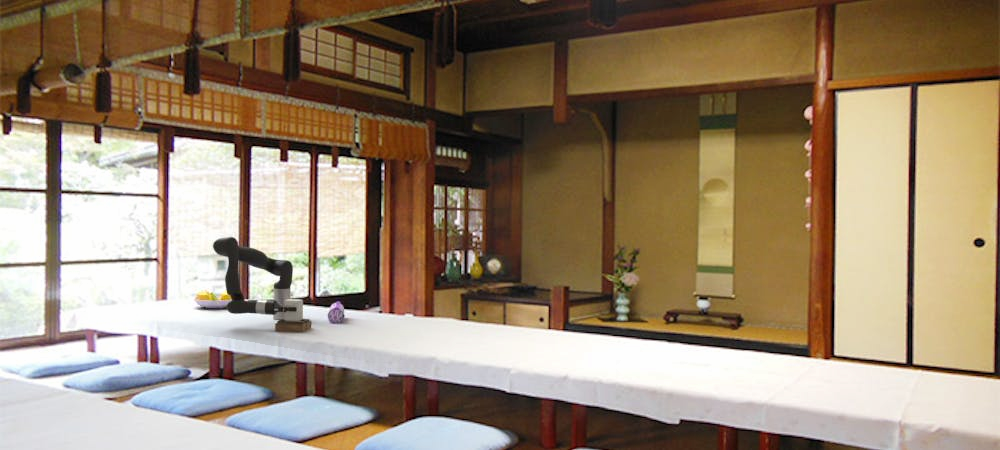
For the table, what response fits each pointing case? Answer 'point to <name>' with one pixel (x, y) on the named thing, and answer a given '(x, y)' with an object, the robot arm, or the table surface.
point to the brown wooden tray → (293, 325)
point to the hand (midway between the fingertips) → (298, 308)
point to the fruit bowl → (212, 299)
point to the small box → (294, 315)
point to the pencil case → (336, 313)
